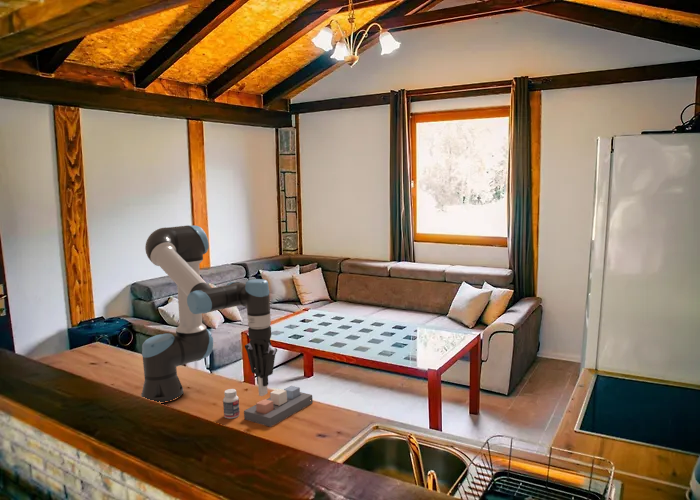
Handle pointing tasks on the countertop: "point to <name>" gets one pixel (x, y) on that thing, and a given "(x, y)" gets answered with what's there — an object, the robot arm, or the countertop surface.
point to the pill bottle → (231, 404)
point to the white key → (278, 396)
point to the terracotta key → (264, 406)
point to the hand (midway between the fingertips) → (263, 394)
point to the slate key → (292, 392)
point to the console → (278, 410)
